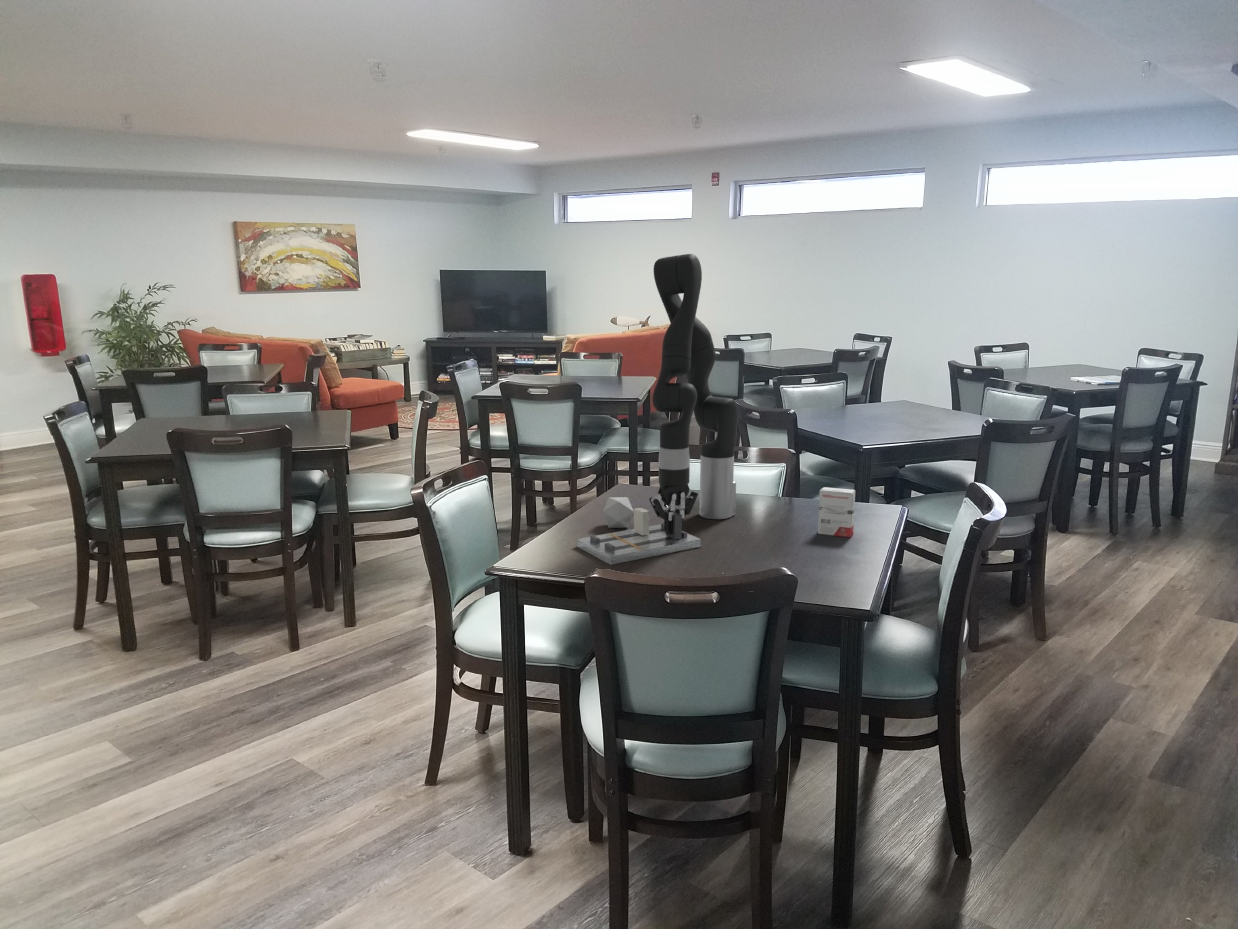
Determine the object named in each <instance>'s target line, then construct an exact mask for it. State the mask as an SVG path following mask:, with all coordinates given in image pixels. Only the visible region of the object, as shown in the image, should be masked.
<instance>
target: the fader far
mask: <svg viewBox="0 0 1238 929" xmlns="http://www.w3.org/2000/svg"><path fill="white" fill-rule="evenodd" d="M633 511H634V513H633V529H634V532H636V533H638V534H640V535H642V536H643V535H648V534H649V526H650V510H648V509H645V508H642V507H637V508H636V507H635V508H633Z"/></svg>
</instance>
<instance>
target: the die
mask: <svg viewBox="0 0 1238 929" xmlns="http://www.w3.org/2000/svg"><path fill="white" fill-rule="evenodd" d="M602 514H603V516H604V519H605V522H606V524H607V527H608V528H609V529H628V528H629V527H630V524H631V521H632V517H634V508H633V507H632V504H631V502H630V500H629V498H628V497H627V496H626V497H625V496H624V497H622V496H621V497H619V496H617V497H611V496H610V497H608V498H607V501H606V503H605V506H604V509H603V510H602Z"/></svg>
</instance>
